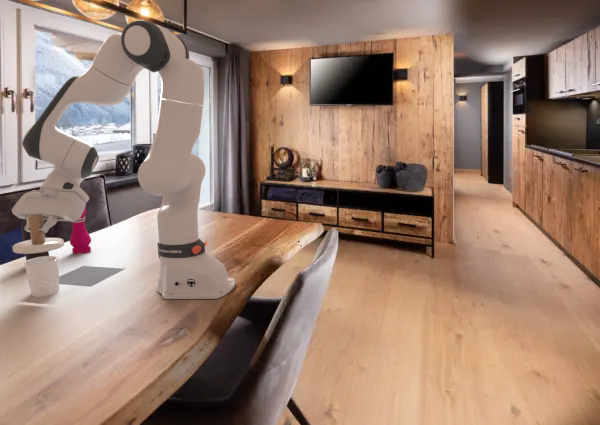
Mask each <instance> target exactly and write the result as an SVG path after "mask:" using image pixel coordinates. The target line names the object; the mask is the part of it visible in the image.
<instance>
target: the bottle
mask: <svg viewBox="0 0 600 425" xmlns="http://www.w3.org/2000/svg"><path fill="white" fill-rule="evenodd" d="M44 223H46V221H45V220H43V225H44ZM26 224H27V221H26V219H23V221H22V222H21V223H20V227H21V234H22V242H23V241H27V240H31V234H30V232H27V231H26V230H24V228H25V226H26ZM44 235H45V238H48V236H47V233H44ZM49 252H50V251H47V252H41V253H32V254H24V255H25V259H26V260H25V261H27V260H29V259H33V258H37V257H43V256H50V253H49Z"/></svg>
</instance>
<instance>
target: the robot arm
mask: <svg viewBox="0 0 600 425" xmlns="http://www.w3.org/2000/svg"><path fill="white" fill-rule="evenodd" d="M145 69H146V70H148V71H150V72H151V73H156V74H158V75H159V77H160V81H161V90H160V92H161V93H160V101H159V110H158V118H157V126H156V131H155V135H154V137H153V140H152V143H151V145H150V148H149V151H148V154H147V156H146V158H145V159H144V160H143V161H142V163H140V166H139V167H138V170H137V180H138V183H139V185H140V187H141V188H142V189H143V190H144V191H145V192H146V193H147V194H150V195H153V196H160V197H162V201H161V204H160V208H159V209H158V211H157V215H156V223H157V234H158V241H157V255H158V259H159V271H158V272H159V274H158V275H159V276H158V282H157V287H156V291H157V292H158V293H159V294H161V295H162V299H165V300H215V299H216V300H217V299H220V298H222V297H224V296H227V294H229V293H231V291H232V290H233V289H234V288H235V286H236V280H235V278H233V277H232V278H231V277H228V271H227V269H226V266H225V265H224V263H223V262H221V261H220V260H218V259H217V258H215V257H214V256H213V255H212V254H210V253H209V252H208V251H206V246H207V245H208V241H207V240H206V241H204V242H203V241H202V240H201V238H200V234H199V215H198V212H199V202H200V196H201V190H202V188H201V187H202V183H203V180H204V178H205V176H206V165H205V163H204V161H203V159H201V157H199V156H198V155H195V154H194V153H192V151H193V148H194V145H195V143H196V141H197V140H198V139H199V137H200V134H201V126H202V119H203V108H204V103H205V102H204V98H205V80H204V79H205V78H204V77H205V76H204V70H203V69H202V67H201V66H200V64H199V63H197V62H195V61H194V60H192V59H190V50H189V48H188V46H187V44H186V42H184V40H183V39H182V38H181V37H180V36H178V35H177V34H174V33H173V32H172V31H170V30H169V29H168V28H166V27H163V26H161V25H158V24H155V23H154V22H153V21H149V20H144V19H142V20H139V19H138V20H137V19H136V20H134V21H131V22H129V23H128V24H127V25H126V26H125V27H124V29H123V30H122V32H121V33H120V32H119V33H118V32H116V33H115V32H114V33H112V34H109V35H108V37H106V39H105V40H104V41H103V43H102V45H101V46H100V47H99V49H98V51H97V52H96V54H95V55H94V58H93V60H92V62H91V64H90V66H89V68H88V69H87V70H86V72H84V73H83V74H81V75H80V76H79V75H73V76H71V77H70V78H68V80H66V81H65V82H64V83H63V85H61V88H59V90H58V91H57V93H55V95H54V97H53V98H52V99H51V101H50V102H49V104H48V105H47V106H46V108H45V109H44V111H42V113H41V114H40V116H39V118H38V119H37V120H36V122H35V123H34V124H33V125H32V126H31V127H30V128H28V130H27V132H25V134H24V136H23V138H22V142H21V144H22V147H23V150H25V152H26V154H27V155H28V156H29V157H30V158H33V159H37V160H39V161H44V162H46V163H48V164H50V165H53V169H52V171H51V172H49V173H48V174H47V176H46V178H45V179H44V181H43V182H42V184H41V186H40V187H39V190H37V189H33V190H30V191H28V192H26V193H24V194H23V195H21V197H20V198H19V199H18V200H17V201H16V202H15V204H14V205H13V207H12V208H11V212H12V214H13V215H14V216H15V217H17V218H18V219H19V220H20V219H22V220H25V219H26V221H27V224H26V226H25V228H24V230H26V231H27V232H30V227H29V220H28V216H30V215H42V220H43V221H45V223H44V225H40V228H39V229H38V230H39V231H40V232H41V233H46V234H47V233H48V232H49V230H50V229H51V228H52V227H53V226H56V224H57V222H60V221H61V222H71V221H77V220H78V219H79V218H80V217H81V215H82V213H83V211H84V209H86V206H87V203H88V202H89V201H90V196H89V195H88V194H87V193H86V192H85V191H84V189H82V188H81V183H82V182H83V181H84V180H85V179H86V178H88V177H90V176H91V175H92V172H93V171H94V168H96V166H97V164H98V162H99V154H98V151H97V149H96V147H95V146H94V145H92V144H91V143H88V142H86V141H84V140H82V139H80V138H77V137H75V136H73V135H70V134H68V133H66V132H64V131H62V130H60V129H59V128H57V124H58V122H59V121H60V120H61V118H62V117H63V115H64V114H65V113H66V111H67V110H68V108H69V107H70V106H71V105H73V104H89V105H95V106H103V107H104V106H106V107H107V106H108V107H109V106H115V105H119V104H121V103H122V102H124V101H125V99H126V98H127V97H128V96H129V93H130V91H131V90H132V87H134V86H133V85H134V83H135V82H136V79H137V77H138V76H139V74H140V72H141V71H143V70H145Z"/></svg>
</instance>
